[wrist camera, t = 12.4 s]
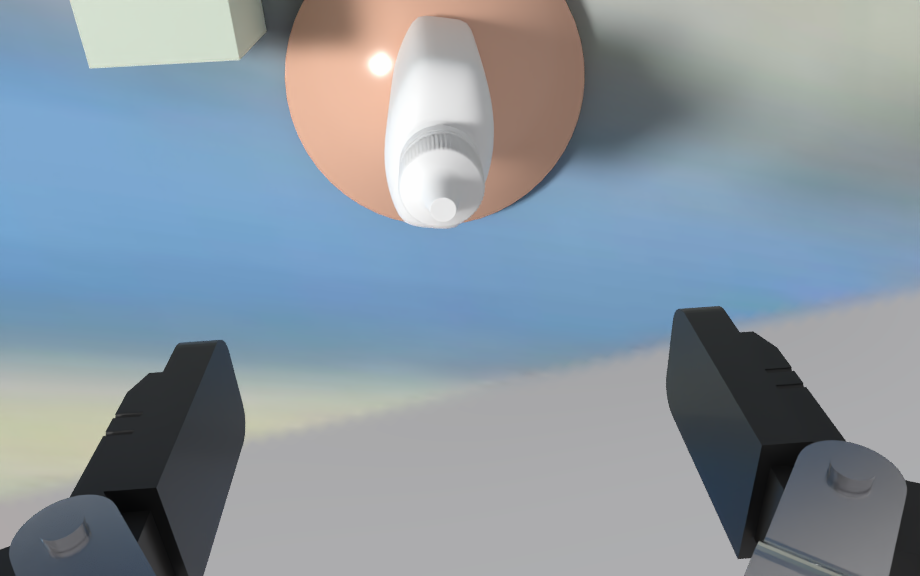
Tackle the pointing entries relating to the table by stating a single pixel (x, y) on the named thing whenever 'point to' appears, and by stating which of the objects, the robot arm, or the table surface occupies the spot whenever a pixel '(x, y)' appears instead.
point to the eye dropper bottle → (438, 125)
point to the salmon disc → (370, 78)
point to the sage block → (167, 30)
